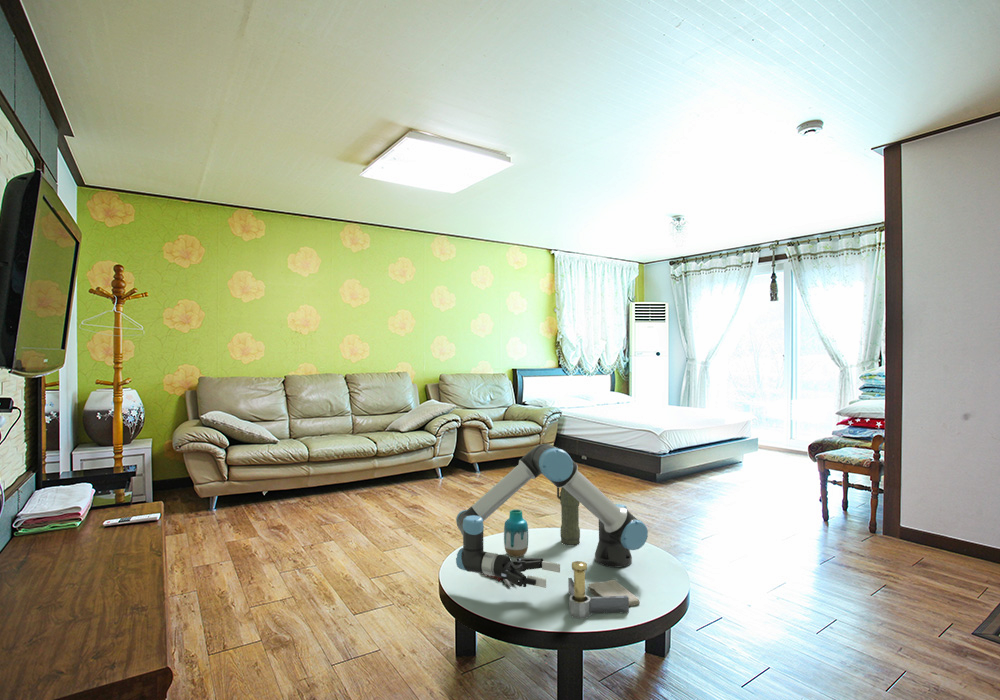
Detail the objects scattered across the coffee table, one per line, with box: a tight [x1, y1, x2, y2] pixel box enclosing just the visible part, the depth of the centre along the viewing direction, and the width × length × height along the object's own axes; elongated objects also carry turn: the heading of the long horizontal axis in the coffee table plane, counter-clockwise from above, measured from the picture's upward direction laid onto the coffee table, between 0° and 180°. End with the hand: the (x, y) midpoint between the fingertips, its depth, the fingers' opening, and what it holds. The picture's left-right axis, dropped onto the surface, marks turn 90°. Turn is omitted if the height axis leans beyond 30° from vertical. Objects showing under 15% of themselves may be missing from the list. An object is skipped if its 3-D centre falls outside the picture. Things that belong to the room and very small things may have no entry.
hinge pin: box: [571, 560, 588, 602], centre depth 171 cm, size 5×5×16 cm
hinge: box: [567, 577, 630, 620], centre depth 178 cm, size 20×20×5 cm
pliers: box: [482, 574, 517, 588], centre depth 200 cm, size 11×20×3 cm, turn 25°
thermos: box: [556, 487, 581, 546], centre depth 239 cm, size 9×12×35 cm
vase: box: [503, 508, 529, 558], centre depth 223 cm, size 11×11×19 cm
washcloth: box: [587, 579, 641, 607], centre depth 184 cm, size 12×18×3 cm, turn 19°
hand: (553, 575), depth 176 cm, fingers open, 13 cm apart
